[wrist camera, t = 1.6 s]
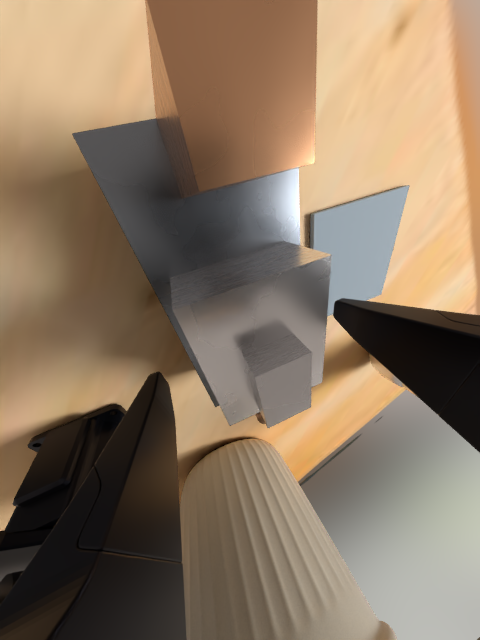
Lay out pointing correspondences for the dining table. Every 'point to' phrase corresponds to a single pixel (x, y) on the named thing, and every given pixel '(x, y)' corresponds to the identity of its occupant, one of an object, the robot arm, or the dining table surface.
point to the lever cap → (258, 328)
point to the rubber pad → (358, 243)
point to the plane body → (213, 138)
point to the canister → (263, 556)
